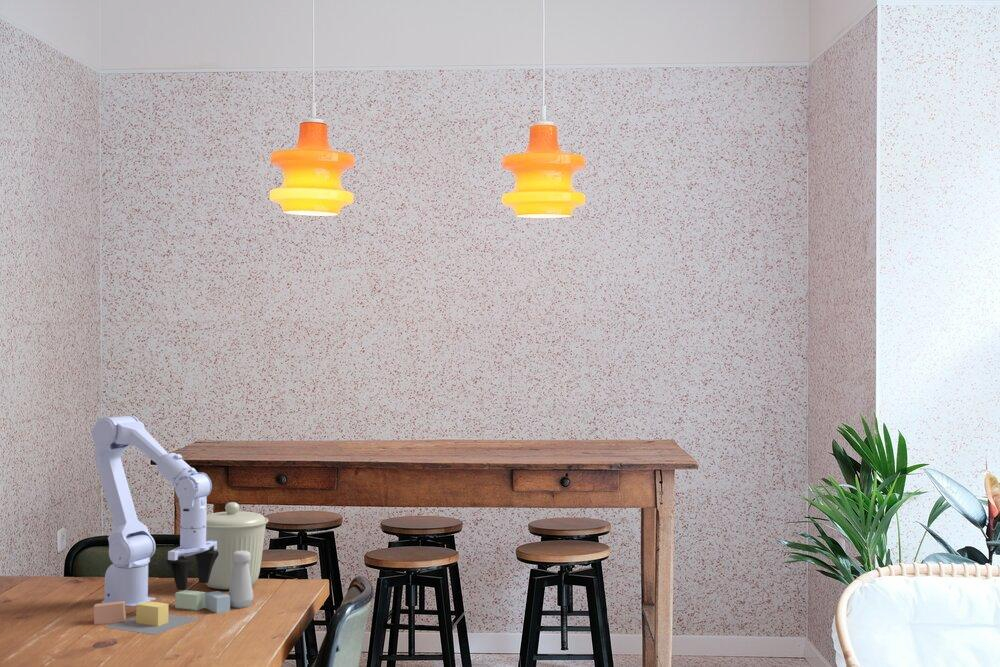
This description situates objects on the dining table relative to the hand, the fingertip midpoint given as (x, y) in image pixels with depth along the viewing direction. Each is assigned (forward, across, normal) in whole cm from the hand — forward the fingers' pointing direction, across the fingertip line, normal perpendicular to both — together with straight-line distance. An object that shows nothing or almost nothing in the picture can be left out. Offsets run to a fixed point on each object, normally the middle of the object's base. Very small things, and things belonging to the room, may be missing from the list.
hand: (192, 586), depth 229 cm
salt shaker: (+6, +6, -9) cm, 12 cm away
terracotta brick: (+5, -17, +8) cm, 19 cm away
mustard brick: (+5, -14, -1) cm, 15 cm away
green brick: (+6, 0, +1) cm, 6 cm away
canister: (+6, +23, +7) cm, 25 cm away
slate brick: (+6, +1, -6) cm, 8 cm away
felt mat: (+5, -14, -1) cm, 15 cm away
